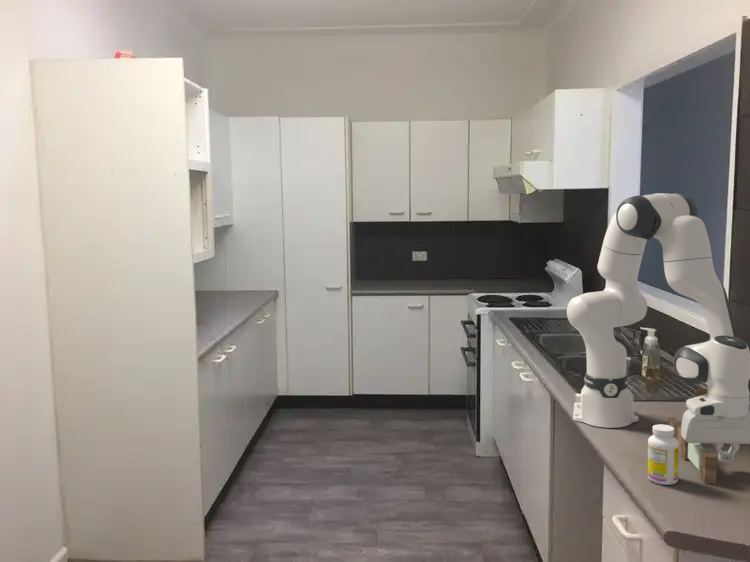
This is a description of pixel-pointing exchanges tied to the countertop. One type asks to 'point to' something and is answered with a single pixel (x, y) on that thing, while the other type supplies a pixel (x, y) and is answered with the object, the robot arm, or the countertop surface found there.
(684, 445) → the fence
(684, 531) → the countertop surface
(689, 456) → the pale green flat block
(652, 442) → the supplement bottle
